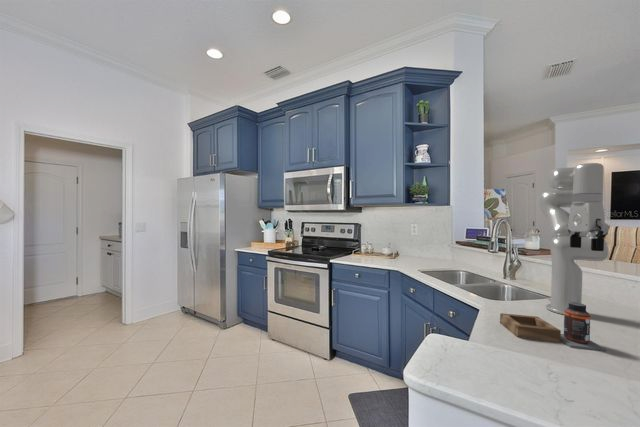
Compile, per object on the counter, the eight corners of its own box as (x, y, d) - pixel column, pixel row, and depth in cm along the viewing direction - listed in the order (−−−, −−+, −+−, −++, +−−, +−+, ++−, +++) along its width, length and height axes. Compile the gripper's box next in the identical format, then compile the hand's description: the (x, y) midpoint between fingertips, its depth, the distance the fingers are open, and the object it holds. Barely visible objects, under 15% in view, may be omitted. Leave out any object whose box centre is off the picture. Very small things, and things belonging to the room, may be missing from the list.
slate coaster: (550, 334, 90) (550, 332, 90) (582, 337, 88) (582, 335, 88) (570, 347, 81) (570, 345, 81) (605, 351, 80) (605, 349, 80)
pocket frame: (499, 322, 99) (500, 313, 99) (537, 326, 97) (537, 316, 97) (517, 337, 87) (517, 326, 87) (560, 341, 85) (560, 330, 85)
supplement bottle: (595, 345, 82) (596, 307, 82) (571, 343, 83) (573, 305, 83) (580, 337, 88) (581, 301, 88) (558, 334, 89) (560, 299, 89)
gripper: (558, 200, 104) (556, 245, 103) (594, 197, 87) (593, 251, 86) (581, 201, 102) (579, 247, 102) (622, 198, 85) (621, 253, 85)
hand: (585, 249), depth 94 cm, fingers open, 9 cm apart
